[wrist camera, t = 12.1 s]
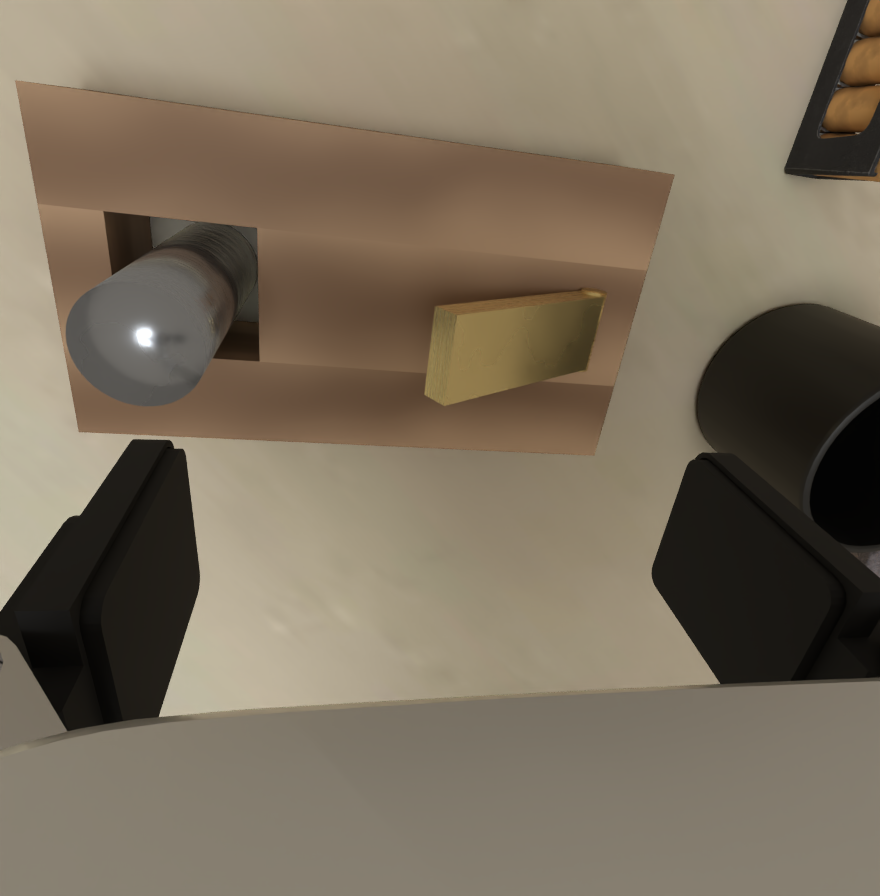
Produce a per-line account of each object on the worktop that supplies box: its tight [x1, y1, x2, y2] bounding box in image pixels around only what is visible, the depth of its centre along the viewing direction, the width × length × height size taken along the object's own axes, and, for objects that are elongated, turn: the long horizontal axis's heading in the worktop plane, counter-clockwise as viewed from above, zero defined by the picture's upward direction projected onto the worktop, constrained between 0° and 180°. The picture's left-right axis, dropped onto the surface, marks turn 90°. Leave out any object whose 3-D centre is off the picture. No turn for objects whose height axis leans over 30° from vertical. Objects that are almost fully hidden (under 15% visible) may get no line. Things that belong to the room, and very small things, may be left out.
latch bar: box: [424, 288, 607, 406], centre depth 21 cm, size 3×8×1 cm
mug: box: [698, 304, 880, 553], centre depth 29 cm, size 9×12×9 cm
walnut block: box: [15, 81, 674, 455], centre depth 25 cm, size 12×22×5 cm, turn 83°
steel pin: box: [65, 222, 258, 406], centre depth 21 cm, size 4×4×11 cm
